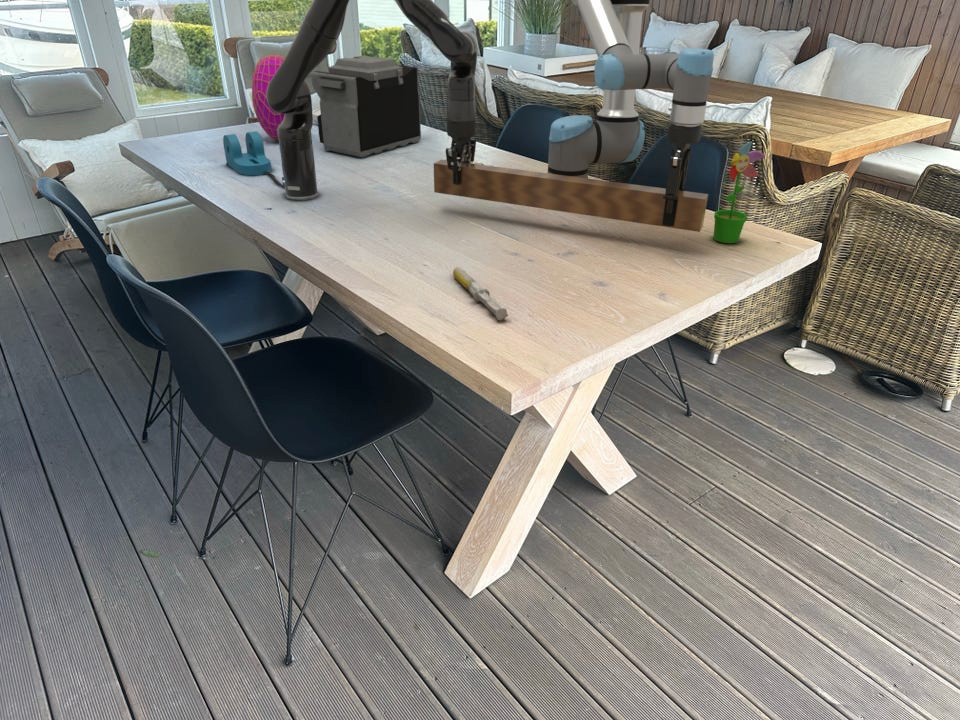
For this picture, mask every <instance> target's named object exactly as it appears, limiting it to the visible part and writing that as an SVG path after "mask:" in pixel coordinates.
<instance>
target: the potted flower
mask: <svg viewBox="0 0 960 720" xmlns="http://www.w3.org/2000/svg"><path fill="white" fill-rule="evenodd" d="M752 145H753V141H749V142H747V143H744V144H743V145H742V146H741V148H740V149H739V151H738V152H736V153H735V154H734V155H733V157H732V158H731V159H732V160H731V162H730V164H731V167H730V169H729V177H730V179H731V181H732V182H735V186H734V190H733V194H727V196H726V197H725V201H726V202H728V203H731V205H730V209H719V210H716V211H714V214H713V215H714V216H713V218H714V225H713V240H715V241H716V242H719V243H723V244H735V243H738V242H739V240H740V237H741V234H742V231H743V227H744V225H745V223H746V221H747V218H748V215H747V214H746V213H744V212H742V211H740V210H734V208H735V203H736V198H737V194H739V193H740V192H742V191H743V190H744V186H739V183H740V178H741V173H742V175H743V176H745V177H747V178H756V177H759V176H760V174H759V173H758V170H757V169H756V168H755V167H754V165H752V164H751V163H754V162H757V161H759V160H760V159H763V158H765V157H766V154H765V153H763V152H761V151H759V150H751V148H752Z"/></svg>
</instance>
